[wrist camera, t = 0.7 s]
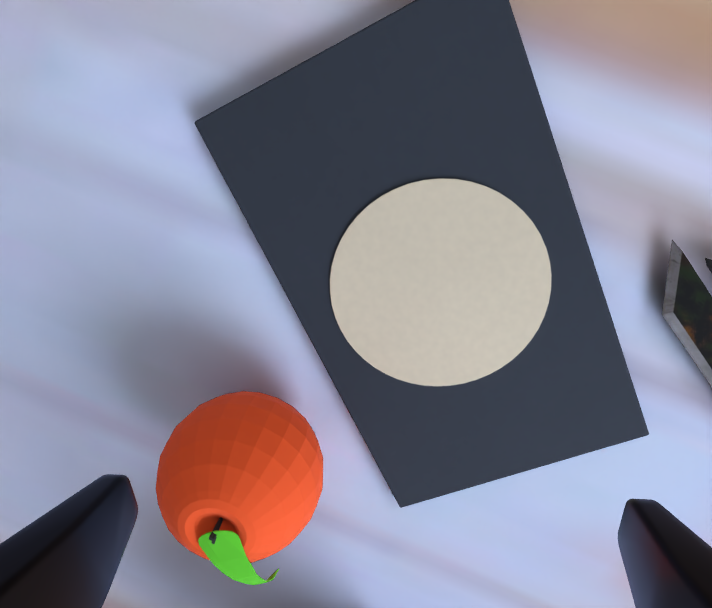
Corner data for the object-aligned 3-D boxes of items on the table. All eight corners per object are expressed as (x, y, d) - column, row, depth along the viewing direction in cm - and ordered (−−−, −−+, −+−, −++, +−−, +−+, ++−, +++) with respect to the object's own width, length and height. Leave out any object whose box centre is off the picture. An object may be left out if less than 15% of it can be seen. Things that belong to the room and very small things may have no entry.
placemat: (400, 499, 25) (400, 510, 24) (199, 121, 19) (192, 122, 19) (643, 427, 22) (650, 436, 22) (492, -39, 17) (495, -45, 16)
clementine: (362, 481, 25) (346, 613, 18) (241, 510, 26) (186, 642, 20) (301, 345, 22) (256, 441, 16) (172, 385, 24) (82, 488, 17)
